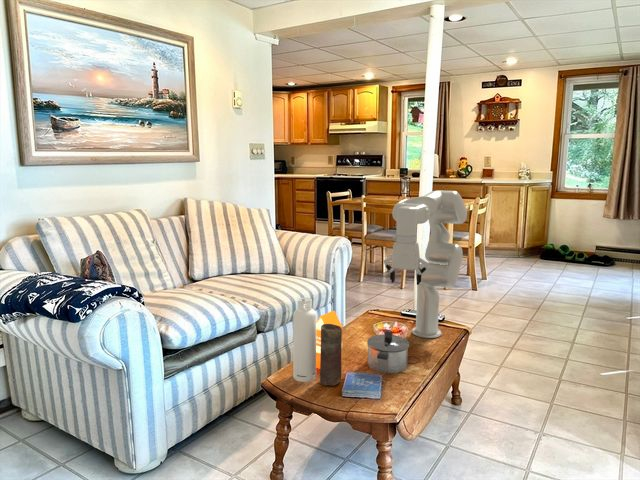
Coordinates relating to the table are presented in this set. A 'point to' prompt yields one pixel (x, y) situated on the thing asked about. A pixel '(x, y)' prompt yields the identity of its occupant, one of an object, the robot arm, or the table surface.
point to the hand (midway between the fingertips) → (405, 282)
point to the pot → (387, 361)
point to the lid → (388, 343)
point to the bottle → (304, 341)
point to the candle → (330, 354)
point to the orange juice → (324, 319)
